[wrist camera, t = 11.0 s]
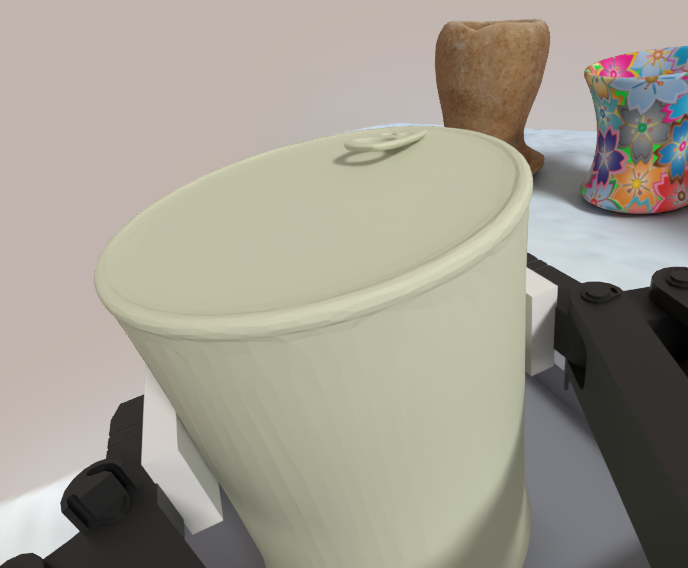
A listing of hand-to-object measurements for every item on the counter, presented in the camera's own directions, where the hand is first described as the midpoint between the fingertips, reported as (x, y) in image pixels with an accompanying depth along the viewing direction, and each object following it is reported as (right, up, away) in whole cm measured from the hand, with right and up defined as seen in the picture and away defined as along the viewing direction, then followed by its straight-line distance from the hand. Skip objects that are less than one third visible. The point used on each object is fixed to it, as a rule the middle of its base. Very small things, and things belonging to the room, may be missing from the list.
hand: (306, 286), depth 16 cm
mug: (+27, +8, +22) cm, 36 cm away
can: (+3, -8, 0) cm, 8 cm away
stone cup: (+16, +12, +34) cm, 39 cm away
